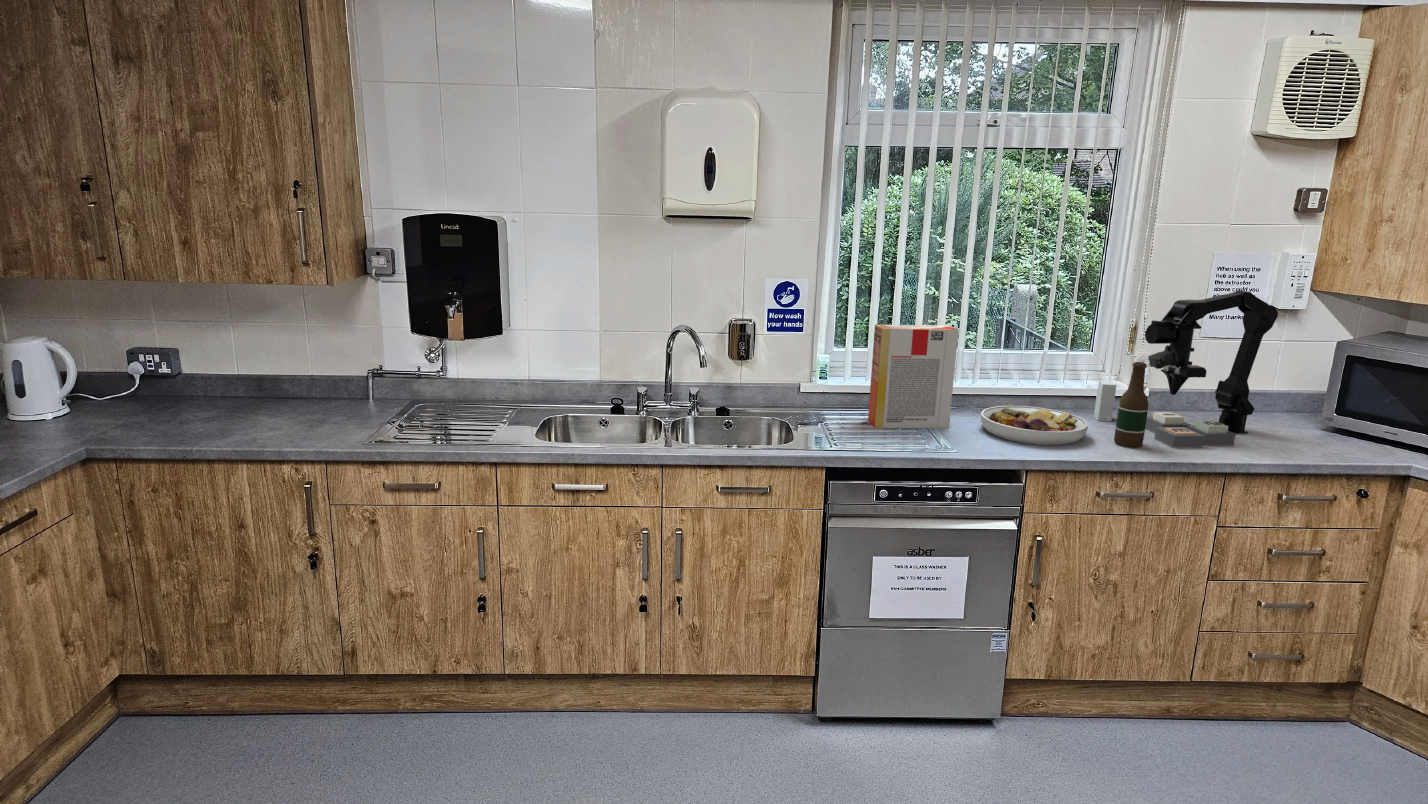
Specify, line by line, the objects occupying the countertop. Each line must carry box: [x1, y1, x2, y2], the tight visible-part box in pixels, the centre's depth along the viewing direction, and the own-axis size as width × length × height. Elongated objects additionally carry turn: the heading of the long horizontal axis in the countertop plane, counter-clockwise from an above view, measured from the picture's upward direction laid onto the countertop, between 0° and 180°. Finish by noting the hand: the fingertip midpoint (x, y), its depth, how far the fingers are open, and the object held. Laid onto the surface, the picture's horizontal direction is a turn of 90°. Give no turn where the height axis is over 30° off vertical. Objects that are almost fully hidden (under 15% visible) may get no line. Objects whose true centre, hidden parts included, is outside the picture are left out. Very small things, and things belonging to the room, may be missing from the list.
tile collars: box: [1145, 416, 1237, 449], centre depth 254 cm, size 20×21×4 cm
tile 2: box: [1194, 420, 1228, 433], centre depth 250 cm, size 6×6×3 cm
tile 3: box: [1164, 428, 1196, 435], centre depth 248 cm, size 6×6×3 cm
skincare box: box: [1093, 380, 1117, 422], centre depth 272 cm, size 6×4×12 cm
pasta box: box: [867, 324, 959, 429], centre depth 258 cm, size 23×8×30 cm, turn 94°
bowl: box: [980, 405, 1089, 446], centre depth 255 cm, size 30×30×8 cm
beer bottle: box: [1113, 361, 1149, 449], centre depth 243 cm, size 8×8×24 cm
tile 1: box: [1152, 411, 1185, 424], centre depth 259 cm, size 6×6×3 cm
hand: (1172, 394), depth 257 cm, fingers closed
